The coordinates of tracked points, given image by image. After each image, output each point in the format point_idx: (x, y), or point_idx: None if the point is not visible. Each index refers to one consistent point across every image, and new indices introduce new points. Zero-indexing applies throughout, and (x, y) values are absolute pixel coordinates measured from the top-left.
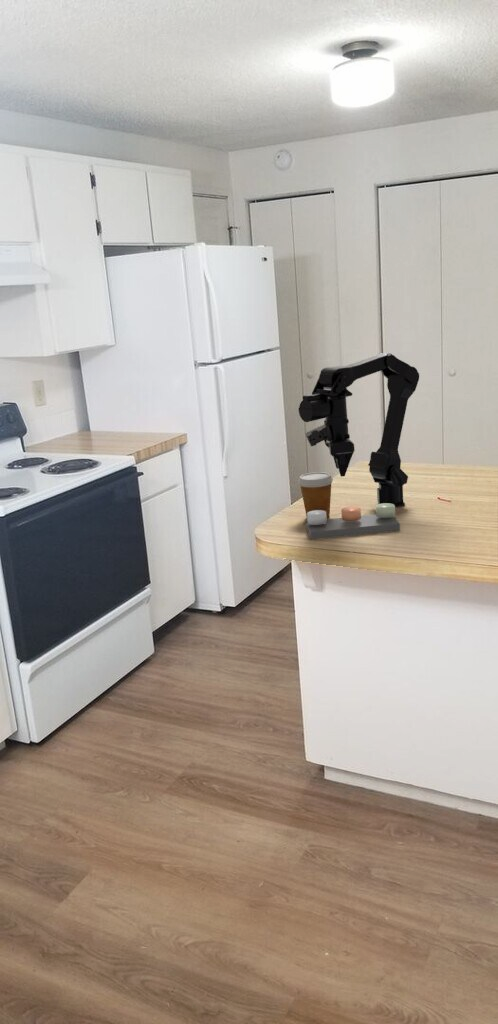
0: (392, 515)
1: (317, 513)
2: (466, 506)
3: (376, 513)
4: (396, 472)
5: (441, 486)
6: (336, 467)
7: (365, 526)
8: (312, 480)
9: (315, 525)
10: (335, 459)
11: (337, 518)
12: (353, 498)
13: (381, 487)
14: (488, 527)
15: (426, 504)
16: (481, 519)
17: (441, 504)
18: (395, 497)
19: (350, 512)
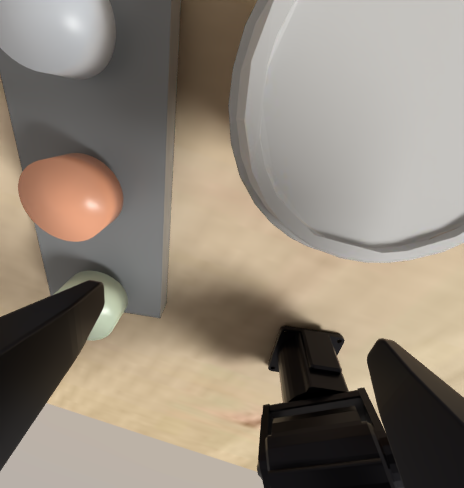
0: None
1: (13, 2)
2: (197, 428)
3: (83, 276)
4: (257, 466)
5: None
6: (386, 344)
7: None
8: (267, 14)
9: None
10: (442, 422)
11: (159, 155)
12: (440, 300)
13: (308, 380)
14: (53, 404)
15: (251, 394)
16: (105, 414)
17: (234, 410)
18: (279, 372)
19: (19, 186)
